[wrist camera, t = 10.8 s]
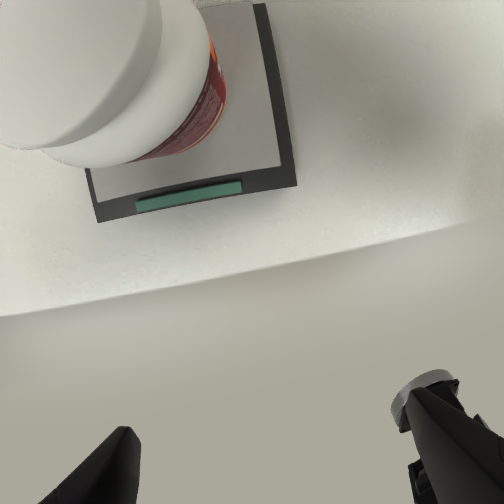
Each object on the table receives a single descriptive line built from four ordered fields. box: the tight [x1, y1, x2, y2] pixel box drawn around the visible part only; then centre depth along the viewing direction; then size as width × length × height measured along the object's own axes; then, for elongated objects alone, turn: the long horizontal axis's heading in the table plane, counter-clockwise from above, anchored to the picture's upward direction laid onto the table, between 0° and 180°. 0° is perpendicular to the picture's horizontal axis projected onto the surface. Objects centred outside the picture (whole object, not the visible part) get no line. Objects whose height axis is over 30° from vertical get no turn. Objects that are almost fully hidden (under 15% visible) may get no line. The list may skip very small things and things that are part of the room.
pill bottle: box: [0, 0, 227, 168], centre depth 9 cm, size 6×6×11 cm
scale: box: [85, 1, 297, 223], centre depth 16 cm, size 11×12×3 cm
